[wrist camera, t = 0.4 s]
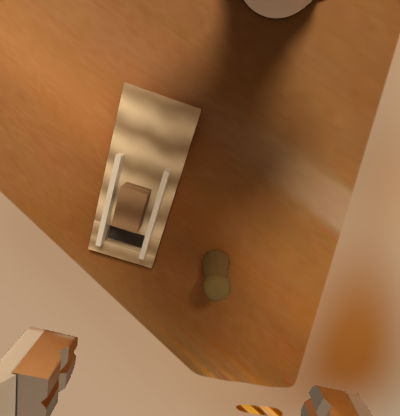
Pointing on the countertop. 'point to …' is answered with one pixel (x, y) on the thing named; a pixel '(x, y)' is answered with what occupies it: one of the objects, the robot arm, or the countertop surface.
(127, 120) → the board
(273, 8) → the robot arm
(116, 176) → the channel walls
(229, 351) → the countertop surface
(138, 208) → the walnut block
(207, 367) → the countertop surface
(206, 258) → the cork
